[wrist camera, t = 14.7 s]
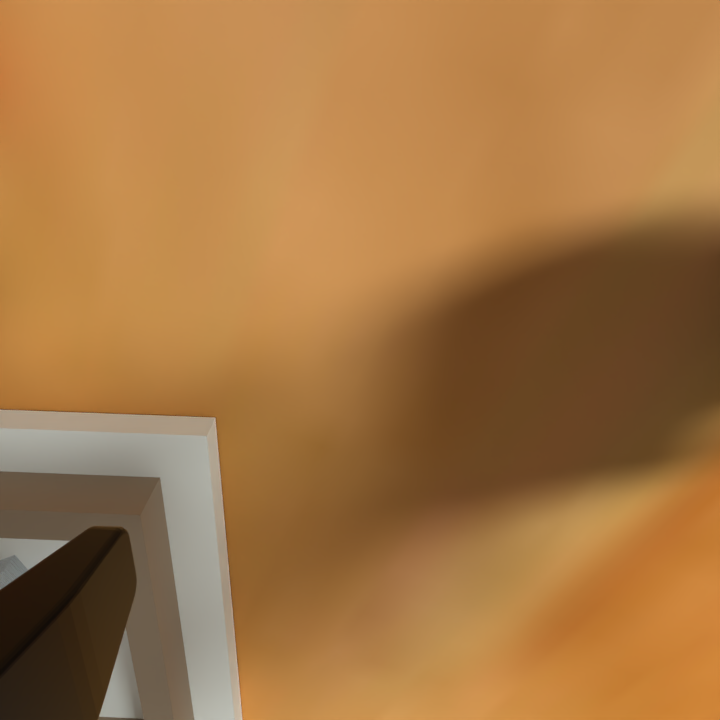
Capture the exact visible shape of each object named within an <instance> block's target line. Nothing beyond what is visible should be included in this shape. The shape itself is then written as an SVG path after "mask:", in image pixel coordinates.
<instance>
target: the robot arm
mask: <svg viewBox="0 0 720 720" xmlns="http://www.w3.org/2000/svg"><path fill="white" fill-rule="evenodd" d="M136 586H137V576H136V570H135V564H134V558H133V553H132V547H131V542H130V537H129V533H128V531H127V530H126V529H125V528H123V527H120V526H92V527H90V528H88V529H86V530H85V531H83V532H82V533H80V534H79V535H78V536H76V537H75V538H73V539H72V540H70V541H69V542H68V543H66V544H65V545H63V546H62V547H60V548H59V549H58V550H56V551H55V552H53V553H52V554H50V555H49V556H48V557H46V558H45V559H43V560H42V561H40V562H39V563H38V564H36V565H35V566H33V567H32V568H30V569H29V570H28V571H26V572H25V573H23V574H22V575H20V576H19V577H18V578H16V579H15V580H13V581H12V582H10V583H9V584H7V585H6V586H5V587H3V588H2V589H0V720H98V718H99V715H100V712H101V709H102V705H103V702H104V699H105V696H106V693H107V689H108V686H109V682H110V679H111V676H112V672H113V669H114V665H115V662H116V659H117V655H118V652H119V648H120V645H121V642H122V638H123V635H124V631H125V628H126V624H127V621H128V618H129V614H130V611H131V607H132V604H133V601H134V597H135V593H136Z"/></svg>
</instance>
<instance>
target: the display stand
mask: <svg viewBox="0 0 720 720" xmlns="http://www.w3.org/2000/svg"><path fill="white" fill-rule="evenodd" d="M92 526H120V527H123V528H125V529H126V530H127V531H128V533H129V537H130V542H131V547H132V553H133V558H134V564H135V570H136V576H137V586H136V593H135V597H134V601H133V604H132V607H131V611H130V614H129V618H128V621H127V624H126V628H125V631H124V635H123V638H122V642H121V645H120V648H119V652H118V655H117V659H116V662H115V665H114V669H113V672H112V676H111V679H110V682H109V686H108V689H107V693H106V696H105V699H104V702H103V705H102V709H101V712H100V715H99V718H98V720H243V719H242V708H241V697H240V686H239V675H238V664H237V652H236V641H235V630H234V619H233V608H232V597H231V586H230V574H229V563H228V552H227V541H226V530H225V519H224V508H223V496H222V485H221V474H220V463H219V452H218V441H217V429H216V418H215V417H188V416H161V415H134V414H107V413H80V412H53V411H26V410H0V560H2V559H5V558H8V557H10V556H13V555H15V556H16V557H17V558H18V559H19V560H20V561H21V562H22V564H23V565H24V566H25V567H26V568H27V569H28V570H29V569H30V568H32V567H33V566H35V565H36V564H38V563H39V562H40V561H42V560H43V559H45V558H46V557H48V556H49V555H50V554H52V553H53V552H55V551H56V550H58V549H59V548H60V547H62V546H63V545H65V544H66V543H68V542H69V541H70V540H72V539H73V538H75V537H76V536H78V535H79V534H80V533H82V532H83V531H85V530H86V529H88V528H90V527H92Z"/></svg>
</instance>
